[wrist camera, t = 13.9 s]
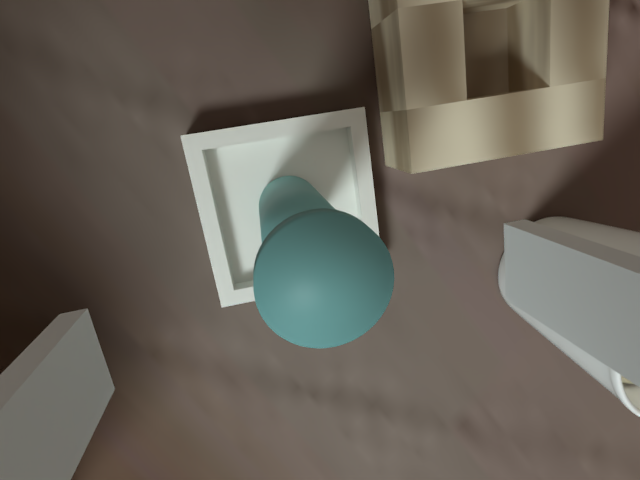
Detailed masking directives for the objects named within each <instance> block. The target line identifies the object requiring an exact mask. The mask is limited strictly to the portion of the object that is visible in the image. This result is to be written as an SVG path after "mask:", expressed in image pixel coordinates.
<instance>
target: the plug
mask: <svg viewBox="0 0 640 480" xmlns="http://www.w3.org/2000/svg"><path fill="white" fill-rule="evenodd" d="M259 217H260V228H261V240H262V244H261V246H260V248H259V250H258V253H257V255H256V259H255V263H254V270H253V291H254V297H255V302H256V305H257V308H258V310H259V312H260V314H261V316H262V318H263V319H264V321H265V322H266V324H267V325H268V326H269V327H270V328H271V329H272V330H273V331H274V332H275V333H276V334H278V335H279V336H280V337H282V338H283V339H285V340H287V341H289V342H291V343H293V344H297V345H300V346H304V347H309V348H329V347H335V346H339V345H342V344H346V343H348V342H350V341H353V340H354V339H356V338H358V337H360V336H361V335H363V334H364V333H365V332H367V331H368V330H369V329H370V328H371V327H372V326H374V325H375V323H376V322H377V321H378V320H379V319H380V317H381V316H382V314H383V313H384V311H385V310H386V308H387V306H388V304H389V301H390V298H391V295H392V291H393V286H394V268H393V263H392V259H391V256H390V253H389V251H388V249H387V247H386V245H385V244H384V243H383V241H382V240H381V238H380V237H379V236H378V235H377V234H376V233H375V232H374V231H373V230H372V229H371V228H369V227H368V226H367V225H366V224H365V223H364V222H362V221H361V220H360V219H358V218H356V217H355V216H353V215H351V214H348V213H346V212H343V211H339V210H336V209H335V208H334V207H333V206H332V205H331V204H330V203H329V202H328V201H327V200H326V199H325V198H324V197H323V196H322V195H321V194H320V193H319V192H318V191H317V190H316V189H315V188H314V187H313V186H312V185H311V184H310V183H309V182H308V181H306V180H304V179H302V178H300V177H297V176H282V177H279V178H277V179H275V180H273V181H271V182H270V183H269V184H268V185H267V186H266V187H265V188H264V190H263V192H262V194H261V196H260V199H259Z"/></svg>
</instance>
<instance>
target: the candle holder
mask: <svg viewBox="0 0 640 480" xmlns="http://www.w3.org/2000/svg"><path fill="white" fill-rule="evenodd" d="M535 223H538V224H541V225H544V226H547V227H550V228H553V229H556V230H559V231H563V232H566V233H569V234H572V235H575V236H578V237H581V238H584V239H587V240H590V241H593V242H596V243H599V244H602V245H605V246H608V247H611V248H614V249H617V250H621V251H624V252H627V253H630V254H633V255H636V256H639V257H640V232H637V231H633V230H628V229H623V228H618V227H614V226H609V225H604V224H600V223H595V222H590V221H585V220H580V219H575V218H569V217H560V216H556V217H547V218H543V219H540V220H537V221H535ZM498 283H499V288H500V292H501V294H502V296H503V298H504V300H505V301H506V303H507V304H508V305H509V306H510V307H511V308H512V309H513V310H514V311H515V312H516V313H517V314H518V315H519V316H520V317H522V318H523V319H524V320H525V321H526V322H527V323H529V324H530V325H531V326H532V327H533V328H535V329H536V330H537V331H538V332H539V333H540V334H542V335H543V336H544V337H545V338H546V339H548V340H549V341H550V342H551V343H552V344H554V345H555V346H556V347H557V348H558V349H560V350H561V351H562V352H563V353H564V354H566V355H567V356H568V357H569V358H570V359H572V360H573V361H574V362H575V363H576V364H577V365H579V366H580V367H581V368H582V369H583V370H585V371H586V372H587V373H588V374H589V375H591V376H592V377H593V378H594V379H595V380H597V381H598V382H599V383H600V384H601V385H603V386H604V387H605V388H606V389H607V390H609V391H610V392H611V393H612V394H613V395H614V396H616V397H617V398H618V399H619V400H620V401H621V402H622V403H623V404H624V405H625V406H626V407H627V408H628V409H629V410H630V411H631V412H633V413H634V414H635V415H637V416H639V417H640V387H638V386H637V385H635V384H634V383H632V382H631V381H629V380H628V379H626V378H625V377H623V376H622V375H620V374H619V373H617V372H616V371H614V370H612V369H611V368H609V367H608V366H606V365H605V364H603V363H602V362H600V361H599V360H597V359H596V358H594V357H593V356H591V355H590V354H588V353H587V352H585V351H584V350H582V349H580V348H579V347H577V346H576V345H574V344H573V343H571V342H570V341H568V340H567V339H565V338H564V337H562V336H561V335H559V334H558V333H556V332H555V331H553V330H551V329H550V328H548V327H547V326H545V325H544V324H542V323H541V322H539V321H538V320H536V319H535V318H533V317H532V316H530V315H529V314H527V313H526V312H524V311H523V310H521V309H519V308H518V307H516V306H515V305H513V304H512V303H510V302H509V301H507V300H506V291H505V251H504V253H503V255H502V258H501V261H500V264H499V270H498Z"/></svg>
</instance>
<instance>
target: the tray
mask: <svg viewBox="0 0 640 480" xmlns="http://www.w3.org/2000/svg"><path fill="white" fill-rule="evenodd" d="M181 140H182V144H183V148H184V153H185V157H186V161H187V165H188V169H189V173H190V178H191V182H192V186H193V190H194V194H195V198H196V203H197V207H198V211H199V215H200V219H201V223H202V228H203V232H204V236H205V240H206V244H207V248H208V253H209V257H210V261H211V265H212V269H213V273H214V277H215V282H216V286H217V290H218V294H219V298H220V302H221V307H227V306H232V305H237V304H241V303H246V302H251V301H255V297H254V291H253V270H254V263H255V259H256V255H257V253H258V250H259V248H260V246H261V244H262V240H261V228H260V217H259V199H260V196H261V194H262V192H263V190H264V188H265V187H266V186H267V185H268V184H269V183H270V182H271V181H273V180H275V179H277V178H279V177H282V176H297V177H300V178H302V179H304V180H306V181H308V182H309V183H310V184H311V185H312V186H313V187H314V188H315V189H316V190H317V191H318V192H319V193H320V194H321V195H322V196H323V197H324V198H325V199H326V200H327V201H328V202H329V203H330V204H331V205H332V206H333V207H334V208H335V209H336V210H339V211H343V212H346V213H348V214H351V215H353V216H355V217H356V218H358V219H360V220H361V221H362V222H364V223H365V224H366V225H367V226H368V227H369V228H371V229H372V230H373V231H374V232H375V233H376V234H377V235H378V236H379V228H378V220H377V211H376V202H375V193H374V184H373V176H372V167H371V158H370V149H369V140H368V132H367V123H366V114H365V107H360V108H353V109H347V110H341V111H334V112H328V113H321V114H315V115H309V116H302V117H296V118H290V119H283V120H277V121H271V122H264V123H258V124H251V125H245V126H239V127H232V128H226V129H220V130H213V131H207V132H201V133H194V134H188V135H182V136H181Z"/></svg>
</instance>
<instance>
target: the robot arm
mask: <svg viewBox="0 0 640 480" xmlns="http://www.w3.org/2000/svg"><path fill="white" fill-rule="evenodd" d="M504 251H505V291H506V300H507V301H509V302H510V303H512V304H513V305H515V306H516V307H518V308H519V309H521V310H523V311H524V312H526V313H527V314H529V315H530V316H532V317H533V318H535V319H536V320H538V321H539V322H541V323H542V324H544V325H545V326H547V327H548V328H550V329H551V330H553V331H555V332H556V333H558V334H559V335H561V336H562V337H564V338H565V339H567V340H568V341H570V342H571V343H573V344H574V345H576V346H577V347H579V348H580V349H582V350H584V351H585V352H587V353H588V354H590V355H591V356H593V357H594V358H596V359H597V360H599V361H600V362H602V363H603V364H605V365H606V366H608V367H609V368H611V369H612V370H614V371H616V372H617V373H619V374H620V375H622V376H623V377H625V378H626V379H628V380H629V381H631V382H632V383H634V384H635V385H637V386H638V387H640V257H639V256H636V255H633V254H630V253H627V252H624V251H621V250H617V249H614V248H611V247H608V246H605V245H602V244H599V243H596V242H593V241H590V240H587V239H584V238H581V237H578V236H575V235H572V234H569V233H566V232H563V231H559V230H556V229H553V228H550V227H547V226H544V225H541V224H538V223H535V222H532V221H529V220H526V219H524V220H519V221H514V222H509V223H504ZM114 390H115V388H114V385H113V382H112V379H111V376H110V373H109V370H108V367H107V364H106V361H105V358H104V355H103V352H102V350H101V347H100V344H99V341H98V338H97V335H96V332H95V329H94V326H93V323H92V320H91V317H90V314H89V311H88V309H82V310H77V311H72V312H67V313H62V314H59V315H58V316H57V317H56V318H55V319H54V320H53V321H52V322H51V323H50V324H49V325H48V326H47V327H46V328H45V329H44V330H43V331H42V332H41V333H40V334H39V336H38V337H37V338H36V339H35V340H34V341H33V342H32V343H31V344H30V345H29V346H28V347H27V348H26V349H25V350H24V351H23V352H22V353H21V354H20V355H19V356H18V357H17V358H16V359H15V360H14V361H13V362H12V363H11V364H10V365H9V366H8V367H7V368H6V369H5V370H4V371H3V372H2V373H1V374H0V480H71V478H72V476H73V474H74V472H75V470H76V468H77V466H78V464H79V462H80V460H81V458H82V456H83V454H84V452H85V450H86V448H87V445H88V443H89V441H90V439H91V437H92V435H93V433H94V431H95V429H96V427H97V425H98V423H99V421H100V419H101V417H102V415H103V413H104V411H105V408H106V406H107V404H108V402H109V400H110V398H111V396H112V394H113V392H114Z"/></svg>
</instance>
